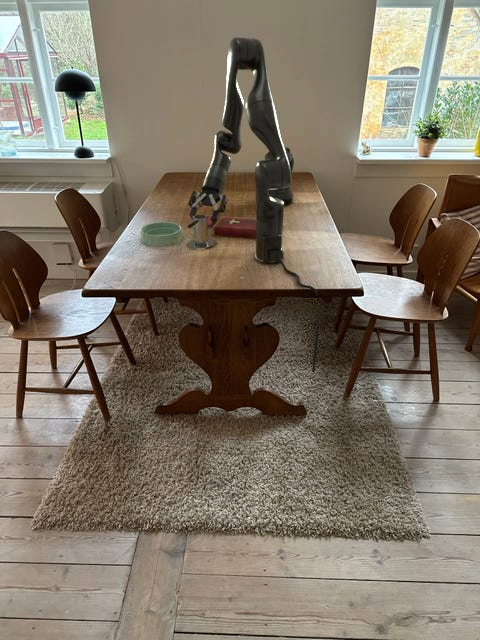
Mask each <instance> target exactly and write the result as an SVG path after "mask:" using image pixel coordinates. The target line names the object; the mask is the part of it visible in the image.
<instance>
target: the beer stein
mask: <svg viewBox="0 0 480 640" xmlns="http://www.w3.org/2000/svg"><path fill="white" fill-rule="evenodd" d="M283 146H284V149H285V152H286V156H287V159H288V162H289V165H290V170H291V174H292V173H293V171H294V166H295V159H294V157H293V154H292V152H291V149H290V148H289V147H286V146H285V145H284V144H283ZM264 160H272V156H271V154H270V152H269V151H267V153H266V154H264ZM292 186H293V185H292V182H291V183H290V185H289V187H287V188H284V189H276V190H269V196H271V197H274V198H278V199H280V200H282V201H283V202H284V207H285V206H289V205H291V204H292V203H293V201H294V197H295V195H294V191H293V187H292Z"/></svg>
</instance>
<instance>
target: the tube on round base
mask: <svg viewBox="0 0 480 640" xmlns="http://www.w3.org/2000/svg"><path fill="white" fill-rule="evenodd" d="M207 216H208V215H206V214H196V215H195V216H193V219H192V222H191V223H188V224H187V228H188V229H192V227H193V237H194V238H193V239H194V241H195V244H196V245H205V244H207V243H208V239H209V233H208V227H207Z"/></svg>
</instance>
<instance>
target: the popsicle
mask: <svg viewBox="0 0 480 640" xmlns="http://www.w3.org/2000/svg"><path fill="white" fill-rule="evenodd" d="M206 216H207V228H208V227H211V226H214V225H213V224H215V222H212V221H211V217H212V214H210V215H206Z"/></svg>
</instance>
